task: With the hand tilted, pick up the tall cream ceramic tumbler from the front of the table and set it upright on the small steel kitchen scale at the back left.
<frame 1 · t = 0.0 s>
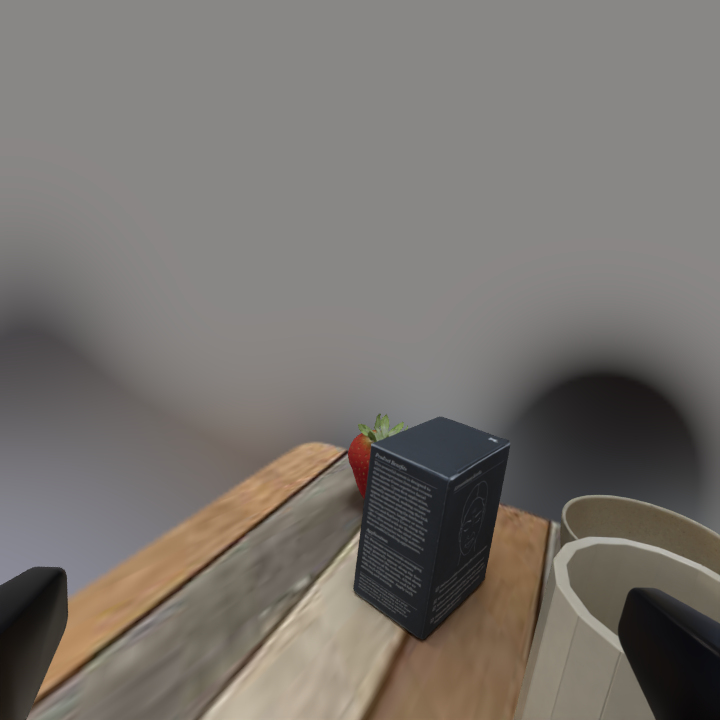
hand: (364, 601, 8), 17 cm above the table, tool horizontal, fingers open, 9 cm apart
bowl: (621, 641, 30), on the table
box: (419, 589, 33), on the table
fruit: (371, 506, 42), on the table
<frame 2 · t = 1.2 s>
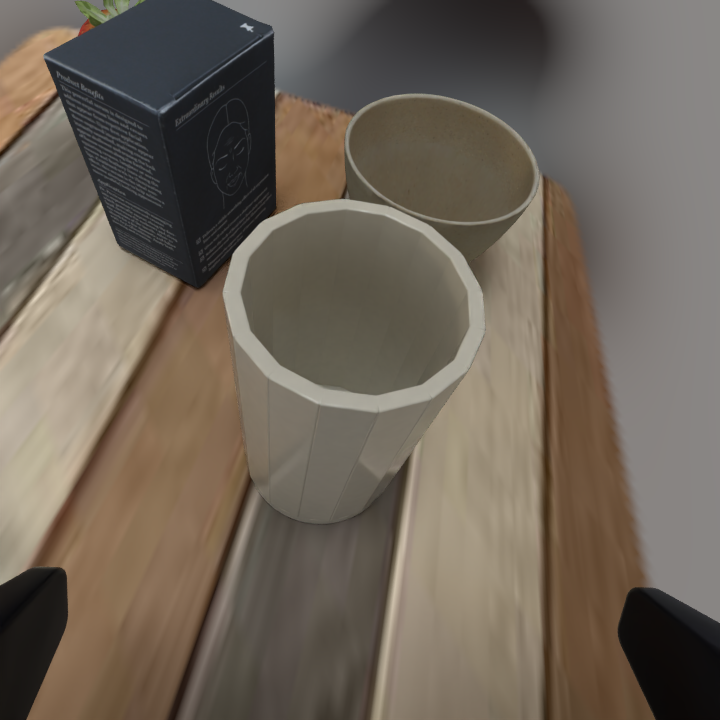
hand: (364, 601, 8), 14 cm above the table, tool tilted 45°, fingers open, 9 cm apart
bowl: (409, 252, 31), on the table
tumbler: (321, 449, 23), on the table
box: (201, 230, 29), on the table
fruit: (145, 126, 33), on the table
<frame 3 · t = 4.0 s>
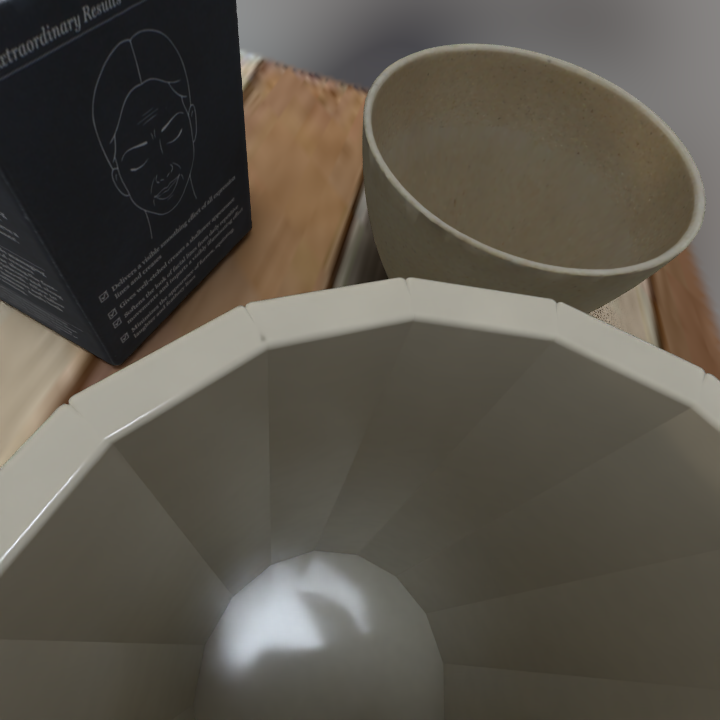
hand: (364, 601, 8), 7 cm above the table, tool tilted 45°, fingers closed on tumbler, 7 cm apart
bowl: (455, 295, 20), on the table
tumbler: (321, 680, 13), on the table, touching gripper
box: (133, 264, 19), on the table
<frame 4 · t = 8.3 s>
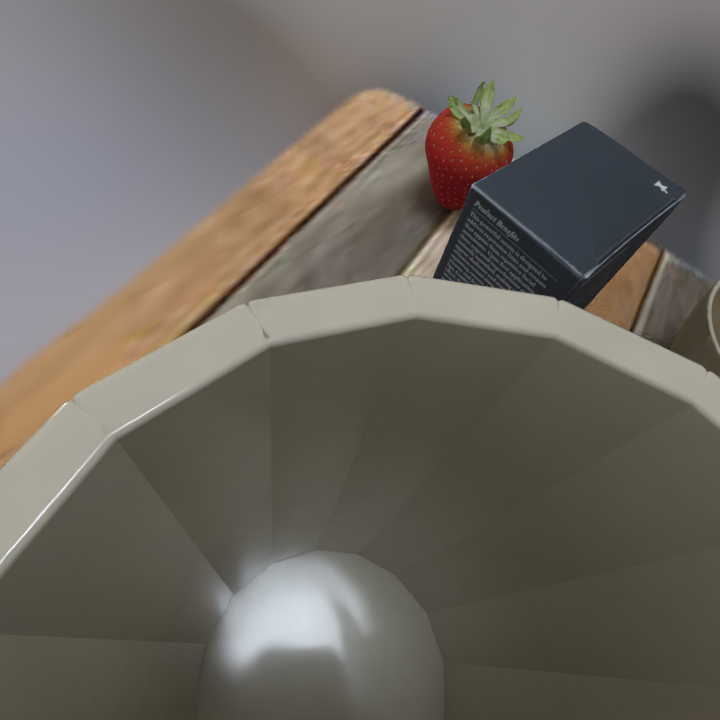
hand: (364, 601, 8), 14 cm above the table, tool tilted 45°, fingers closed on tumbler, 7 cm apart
bowl: (695, 419, 28), on the table
tumbler: (322, 679, 13), point 7 cm above the table, touching gripper
box: (485, 334, 28), on the table
fruit: (443, 207, 33), on the table
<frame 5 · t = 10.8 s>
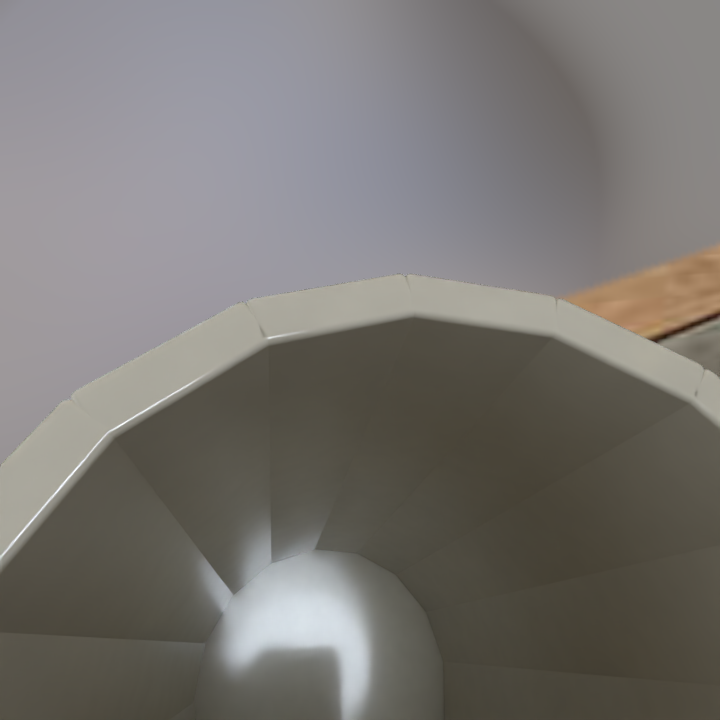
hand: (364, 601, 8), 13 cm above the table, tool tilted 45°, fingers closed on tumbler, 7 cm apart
tumbler: (321, 679, 13), point 7 cm above the table, touching gripper
when the fingers open (9 cm above the table, at t = 12.9 s): tumbler stays where it is, resting on scale.
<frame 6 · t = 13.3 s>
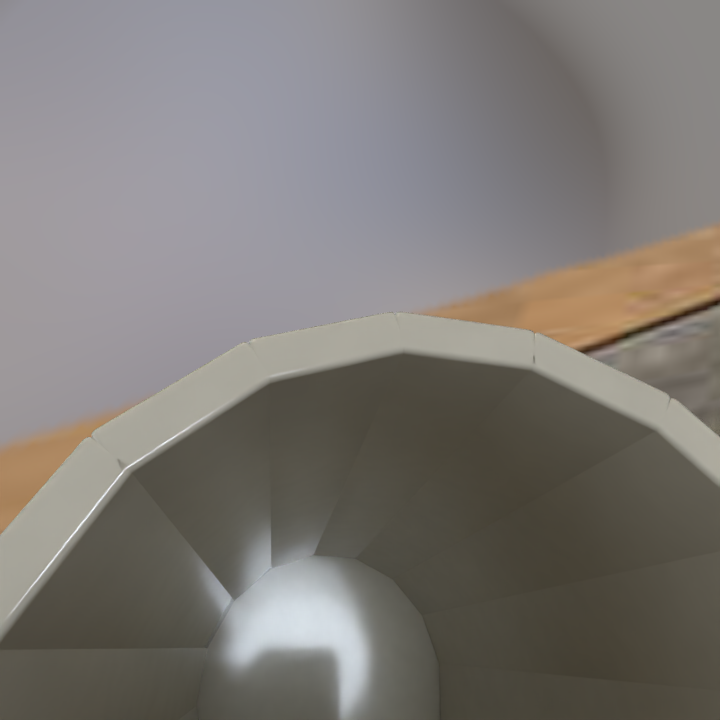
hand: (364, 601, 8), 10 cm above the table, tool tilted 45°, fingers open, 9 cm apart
tumbler: (321, 681, 13), point 3 cm above the table, touching scale
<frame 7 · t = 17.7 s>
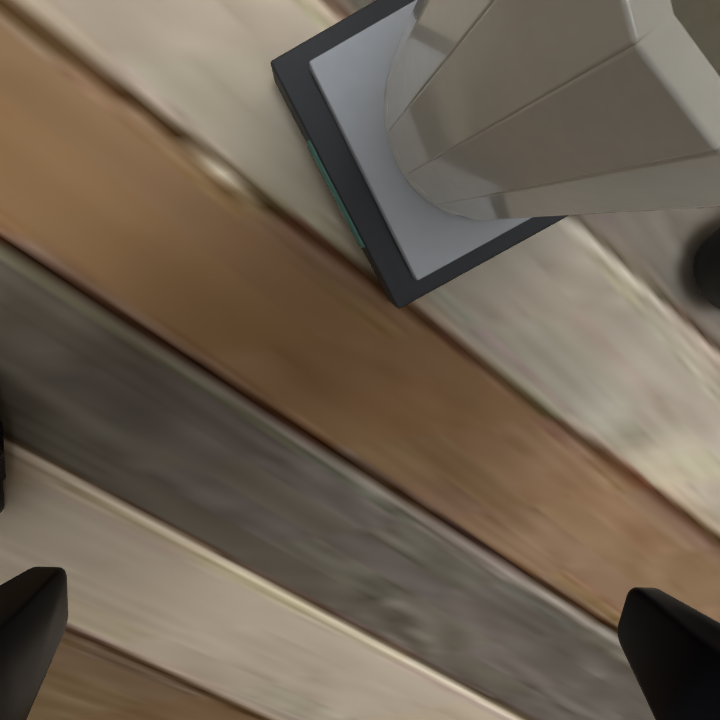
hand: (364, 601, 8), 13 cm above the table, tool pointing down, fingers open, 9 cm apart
tumbler: (489, 108, 16), point 3 cm above the table, touching scale
egg: (719, 262, 21), on the table
scale: (464, 125, 18), on the table
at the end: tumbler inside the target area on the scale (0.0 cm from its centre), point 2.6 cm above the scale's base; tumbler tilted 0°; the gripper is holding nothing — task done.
